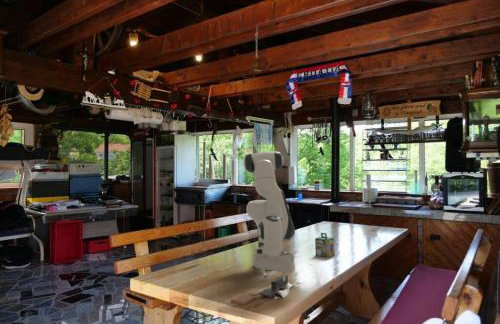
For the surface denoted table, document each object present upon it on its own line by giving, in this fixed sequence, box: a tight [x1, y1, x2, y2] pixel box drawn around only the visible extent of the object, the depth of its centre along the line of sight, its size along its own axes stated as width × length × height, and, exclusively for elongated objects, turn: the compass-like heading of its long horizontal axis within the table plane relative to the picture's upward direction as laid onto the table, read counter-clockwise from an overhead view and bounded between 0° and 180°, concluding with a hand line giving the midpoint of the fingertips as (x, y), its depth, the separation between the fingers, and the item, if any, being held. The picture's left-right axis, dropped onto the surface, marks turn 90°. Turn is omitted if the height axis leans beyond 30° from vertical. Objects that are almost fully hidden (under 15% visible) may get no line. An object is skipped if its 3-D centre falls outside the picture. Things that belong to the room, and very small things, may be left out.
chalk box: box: [314, 232, 336, 258], centre depth 232 cm, size 9×9×15 cm
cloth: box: [272, 281, 294, 300], centre depth 168 cm, size 26×14×2 cm, turn 149°
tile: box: [230, 293, 255, 306], centre depth 156 cm, size 2×7×8 cm
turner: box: [258, 274, 289, 298], centre depth 166 cm, size 20×6×4 cm, turn 146°
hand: (274, 279), depth 169 cm, fingers open, 8 cm apart
